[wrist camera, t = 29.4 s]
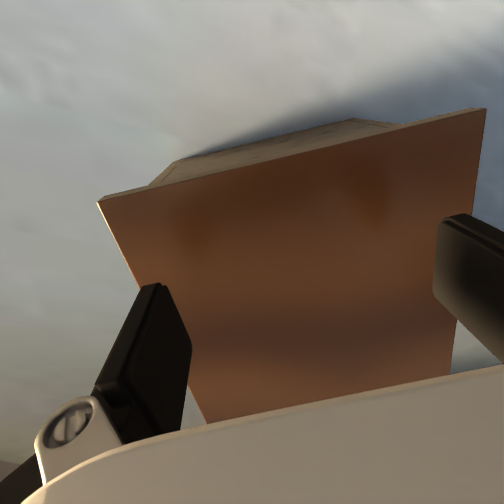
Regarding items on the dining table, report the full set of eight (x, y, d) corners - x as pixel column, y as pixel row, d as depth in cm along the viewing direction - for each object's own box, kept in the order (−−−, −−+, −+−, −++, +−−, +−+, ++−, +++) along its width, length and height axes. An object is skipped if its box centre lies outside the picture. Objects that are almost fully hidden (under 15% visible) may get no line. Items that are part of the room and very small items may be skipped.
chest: (172, 161, 24) (117, 213, 13) (353, 117, 23) (462, 131, 12) (226, 319, 31) (220, 437, 20) (364, 290, 30) (436, 397, 19)
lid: (103, 195, 12) (95, 202, 11) (471, 106, 11) (487, 107, 10) (220, 438, 20) (219, 450, 19) (436, 398, 19) (444, 410, 19)
